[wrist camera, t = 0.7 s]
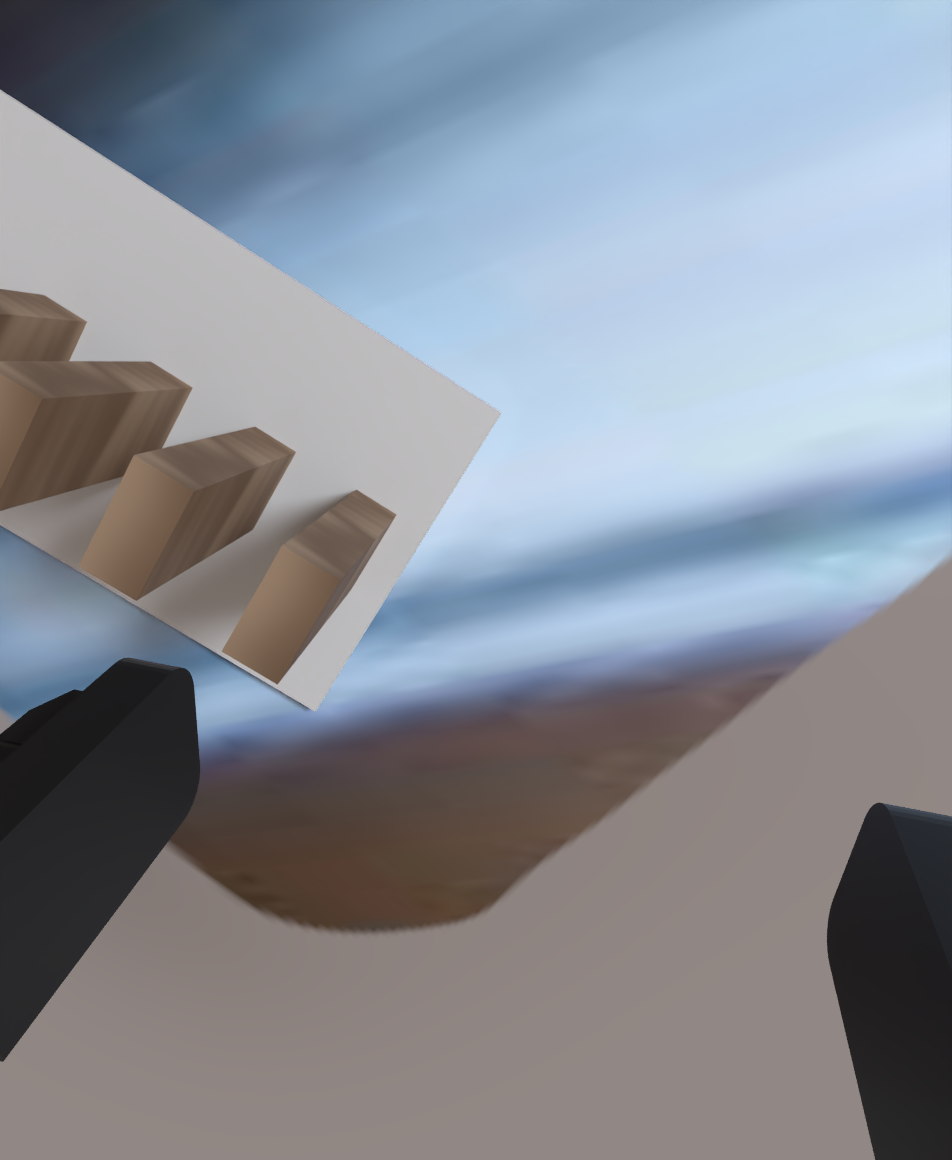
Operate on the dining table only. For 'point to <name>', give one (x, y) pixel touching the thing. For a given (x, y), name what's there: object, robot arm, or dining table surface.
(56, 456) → the domino
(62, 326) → the domino
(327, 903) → the dining table surface
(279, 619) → the domino
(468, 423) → the mat
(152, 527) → the domino
